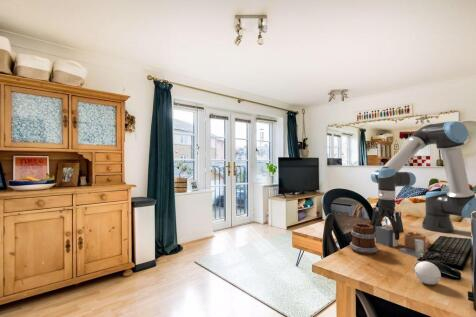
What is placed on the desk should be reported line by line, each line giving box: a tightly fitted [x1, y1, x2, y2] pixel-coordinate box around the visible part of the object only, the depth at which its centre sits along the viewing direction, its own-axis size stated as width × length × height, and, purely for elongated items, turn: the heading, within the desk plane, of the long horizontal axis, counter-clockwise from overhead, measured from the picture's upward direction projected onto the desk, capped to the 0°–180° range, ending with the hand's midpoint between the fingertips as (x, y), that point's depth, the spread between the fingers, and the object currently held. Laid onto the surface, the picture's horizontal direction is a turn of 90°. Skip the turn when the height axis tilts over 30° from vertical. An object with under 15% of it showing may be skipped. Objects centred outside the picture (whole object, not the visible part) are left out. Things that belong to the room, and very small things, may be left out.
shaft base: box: [398, 239, 440, 259], centre depth 113 cm, size 11×11×6 cm
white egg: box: [413, 260, 442, 285], centre depth 85 cm, size 10×7×7 cm
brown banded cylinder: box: [349, 219, 379, 256], centre depth 117 cm, size 12×14×15 cm
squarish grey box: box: [375, 224, 394, 247], centre depth 126 cm, size 7×7×8 cm
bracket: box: [403, 231, 430, 250], centre depth 124 cm, size 18×8×7 cm, turn 134°
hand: (386, 242), depth 126 cm, fingers open, 9 cm apart
